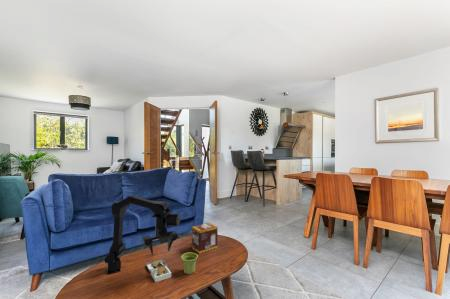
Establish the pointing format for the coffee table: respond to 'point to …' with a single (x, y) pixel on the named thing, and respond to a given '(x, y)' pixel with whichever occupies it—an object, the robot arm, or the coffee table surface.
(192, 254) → the plant pot
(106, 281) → the coffee table surface
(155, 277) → the trough
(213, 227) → the supplement box
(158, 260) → the brass plunger
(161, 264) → the copper cell
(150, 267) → the grey square tray
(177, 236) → the robot arm
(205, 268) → the coffee table surface
